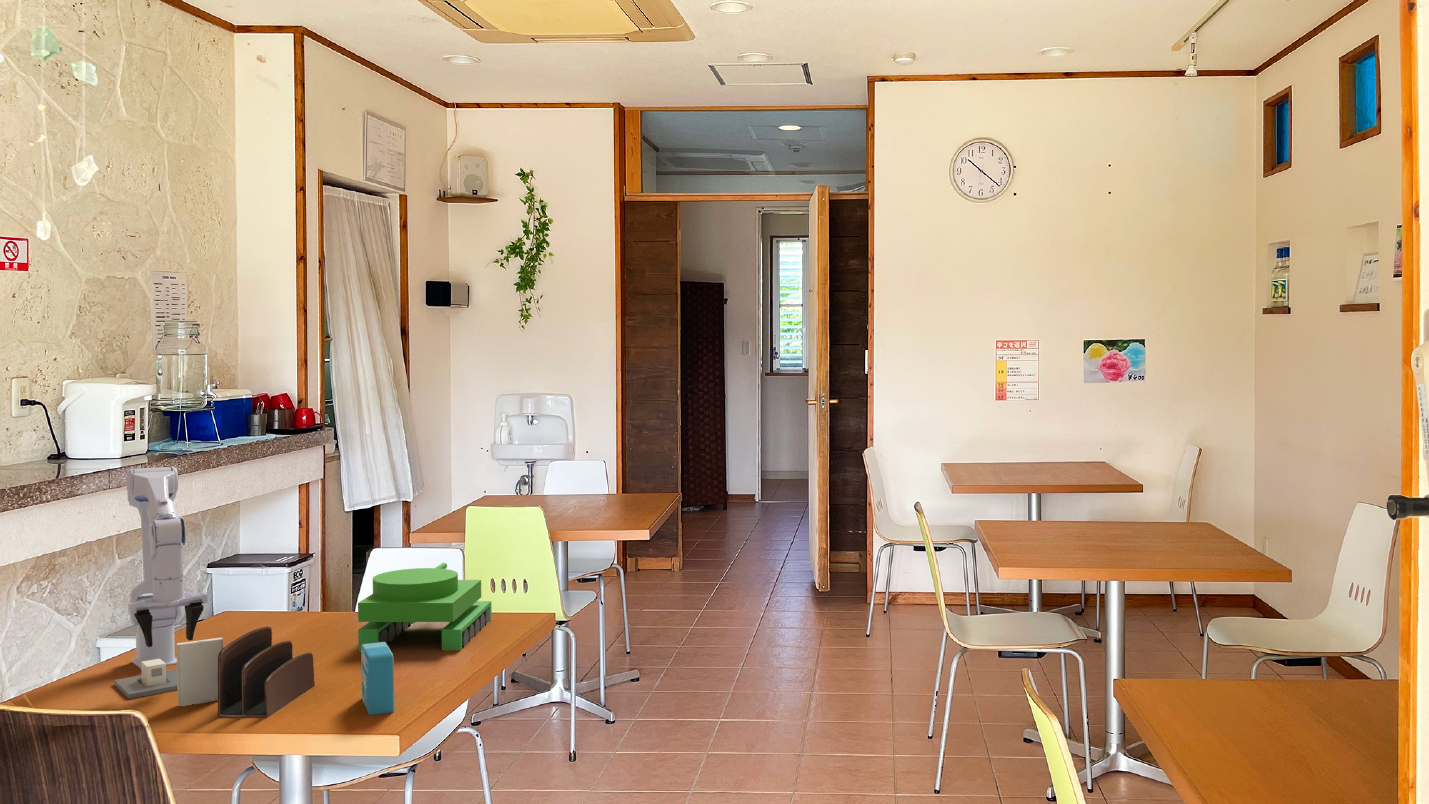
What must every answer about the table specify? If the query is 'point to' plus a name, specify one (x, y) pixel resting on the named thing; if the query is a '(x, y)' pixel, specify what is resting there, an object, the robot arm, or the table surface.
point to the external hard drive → (198, 671)
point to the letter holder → (260, 675)
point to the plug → (153, 672)
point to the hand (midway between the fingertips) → (169, 642)
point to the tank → (423, 605)
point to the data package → (377, 678)
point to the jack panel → (135, 689)
